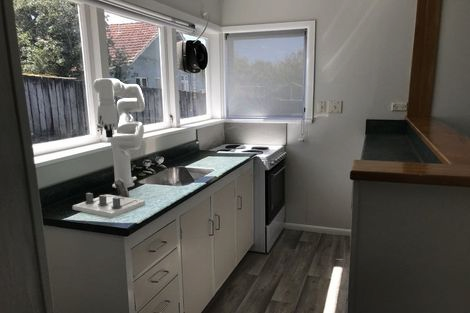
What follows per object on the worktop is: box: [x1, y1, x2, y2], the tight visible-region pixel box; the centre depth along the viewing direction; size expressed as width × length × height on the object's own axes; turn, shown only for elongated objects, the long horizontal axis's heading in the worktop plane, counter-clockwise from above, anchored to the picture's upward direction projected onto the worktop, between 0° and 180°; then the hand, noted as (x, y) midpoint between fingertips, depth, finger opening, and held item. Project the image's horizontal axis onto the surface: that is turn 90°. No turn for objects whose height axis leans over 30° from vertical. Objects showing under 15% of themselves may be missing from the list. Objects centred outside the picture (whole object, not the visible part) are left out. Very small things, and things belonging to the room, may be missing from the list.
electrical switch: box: [113, 178, 131, 198], centre depth 200 cm, size 9×5×9 cm, turn 32°
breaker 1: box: [84, 192, 95, 204], centre depth 181 cm, size 3×4×4 cm
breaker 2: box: [98, 194, 109, 206], centre depth 177 cm, size 3×4×4 cm
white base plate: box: [72, 194, 146, 218], centre depth 181 cm, size 22×26×2 cm
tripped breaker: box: [111, 197, 122, 209], centre depth 173 cm, size 3×4×4 cm
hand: (109, 137), depth 196 cm, fingers closed
